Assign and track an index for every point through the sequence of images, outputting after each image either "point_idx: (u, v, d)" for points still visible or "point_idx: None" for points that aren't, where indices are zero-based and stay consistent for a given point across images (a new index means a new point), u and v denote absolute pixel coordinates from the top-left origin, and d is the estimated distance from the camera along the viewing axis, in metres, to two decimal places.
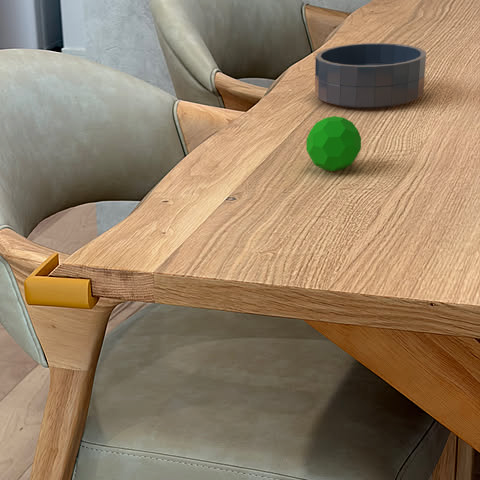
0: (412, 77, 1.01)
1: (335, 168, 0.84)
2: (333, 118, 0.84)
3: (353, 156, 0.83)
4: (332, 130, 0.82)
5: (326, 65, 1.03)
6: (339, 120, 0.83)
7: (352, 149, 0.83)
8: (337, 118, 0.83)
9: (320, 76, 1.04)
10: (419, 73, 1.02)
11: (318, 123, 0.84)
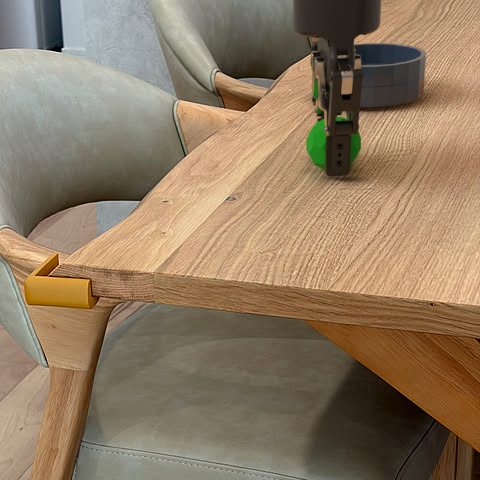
0: (412, 77, 1.01)
1: None
2: None
3: (353, 156, 0.83)
4: None
5: None
6: (339, 120, 0.83)
7: (352, 149, 0.83)
8: (337, 118, 0.83)
9: None
10: (419, 73, 1.02)
11: (318, 123, 0.84)
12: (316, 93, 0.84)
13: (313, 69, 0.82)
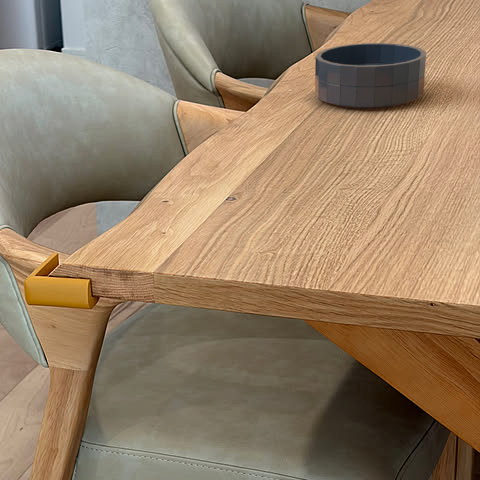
0: (412, 77, 1.01)
1: None
2: None
3: None
4: None
5: (326, 65, 1.03)
6: None
7: None
8: None
9: (320, 76, 1.04)
10: (419, 73, 1.02)
11: None
12: None
13: None
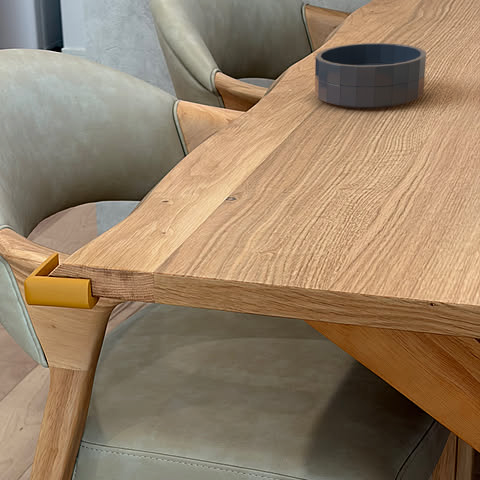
0: (412, 77, 1.01)
1: None
2: None
3: None
4: None
5: (326, 65, 1.03)
6: None
7: None
8: None
9: (320, 76, 1.04)
10: (419, 73, 1.02)
11: None
12: None
13: None
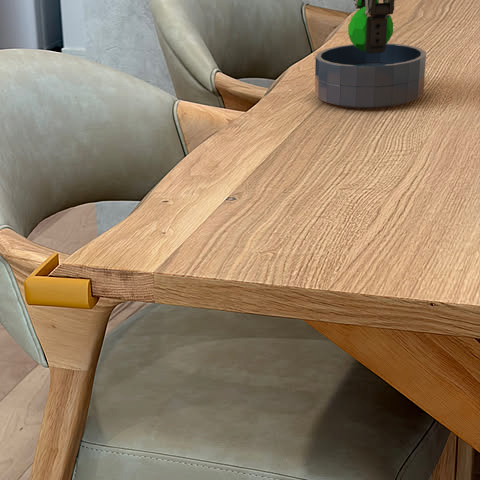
0: (412, 77, 1.01)
1: None
2: None
3: (387, 37, 1.02)
4: None
5: (326, 65, 1.03)
6: None
7: None
8: None
9: (320, 76, 1.04)
10: (419, 73, 1.02)
11: (358, 11, 1.03)
12: None
13: None
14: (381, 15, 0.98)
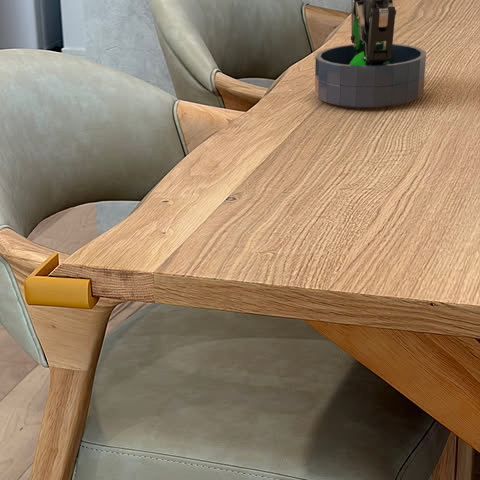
0: (412, 77, 1.01)
1: None
2: None
3: None
4: None
5: (326, 65, 1.03)
6: None
7: None
8: None
9: (320, 76, 1.04)
10: (419, 73, 1.02)
11: (357, 56, 1.05)
12: (355, 32, 1.06)
13: (354, 12, 1.04)
14: (379, 62, 1.00)
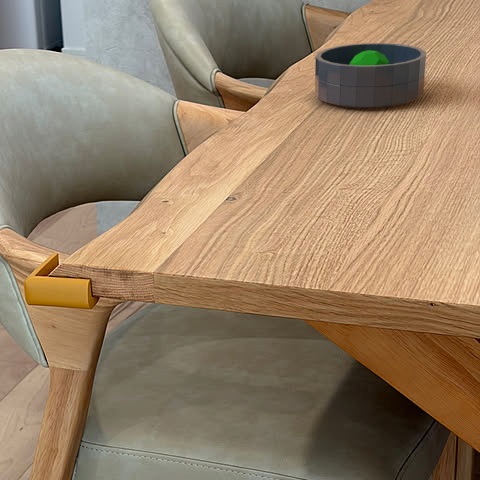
0: (412, 77, 1.01)
1: None
2: (369, 51, 1.05)
3: None
4: (369, 60, 1.04)
5: (326, 65, 1.03)
6: (374, 52, 1.04)
7: None
8: (372, 51, 1.05)
9: (320, 76, 1.04)
10: (419, 73, 1.02)
11: (357, 56, 1.05)
12: None
13: None
14: None
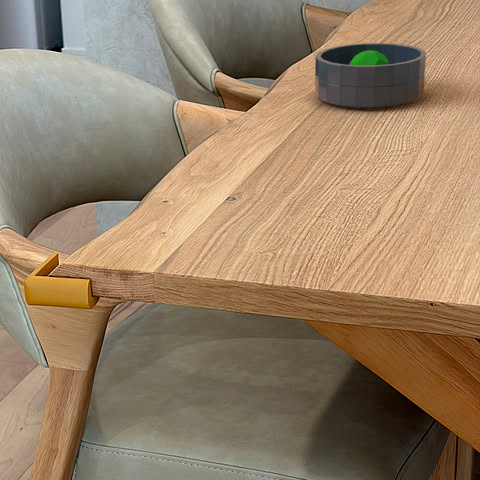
0: (412, 77, 1.01)
1: None
2: (369, 51, 1.05)
3: None
4: (369, 60, 1.04)
5: (326, 65, 1.03)
6: (374, 52, 1.04)
7: None
8: (372, 51, 1.05)
9: (320, 76, 1.04)
10: (419, 73, 1.02)
11: (357, 56, 1.05)
12: None
13: None
14: None
